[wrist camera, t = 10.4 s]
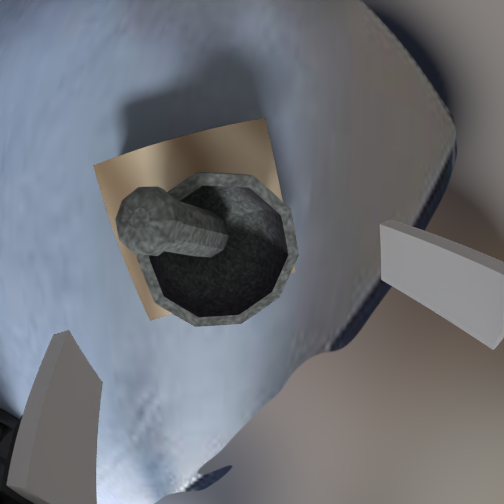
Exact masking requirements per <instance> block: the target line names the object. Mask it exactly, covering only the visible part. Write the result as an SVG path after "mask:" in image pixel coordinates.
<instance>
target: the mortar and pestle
mask: <svg viewBox="0 0 504 504" xmlns="http://www.w3.org/2000/svg"><path fill="white" fill-rule="evenodd" d="M115 221H116V226H117V232H118V237H119V240H120V241H121V242H122V243H123V244H124V245H125V246H126V247H127V248H128V249H129V250H130V251H131V252H132V253H133V254H137V256H136V258H137V260H138V263H139V265H140V268H141V271H142V273H143V276H144V278H145V281H146V283H147V286H148V288H149V291H150V293H151V295H152V298H153V300H154V302H155V303H156V304H157V305H159V306H161V307H162V308H164V309H166V310H167V311H169V312H171V313H172V314H174V315H176V316H177V317H179V318H181V319H183V320H184V321H186V322H188V323H190V324H191V325H193V326H195V327H196V326H214V325H229V324H242V323H243V322H244V321H246V320H247V319H249V318H250V317H252V316H253V315H255V314H256V313H258V312H259V311H261V310H262V309H263V308H265V307H266V306H268V305H269V304H271V303H272V302H273V301H275V300H276V299H278V298H279V297H280V295H281V293H282V291H283V289H284V287H285V284H286V282H287V280H288V278H289V276H290V273H291V271H292V269H293V267H294V265H295V262H296V260H297V258H298V256H299V253H298V247H297V241H296V236H295V230H294V224H293V218H292V213H291V209H290V208H289V207H288V206H287V205H286V204H285V203H284V202H283V201H282V200H280V199H279V198H278V197H277V196H276V195H275V194H274V193H273V192H272V191H271V190H269V189H268V188H267V187H266V186H265V185H264V184H263V183H262V182H260V181H259V180H258V179H257V178H256V177H255V176H253V175H248V174H233V173H214V172H196V173H194V174H193V175H191V176H190V177H188V178H187V179H185V180H184V181H182V182H181V183H179V184H178V185H176V186H175V187H174V188H172V189H171V190H169V191H168V192H166V191H165V190H164V189H162V188H160V187H158V186H155V187H138V188H137V189H135V190H134V191H133V192H132V193H130V194H129V195H128V196H127V197H125V198H124V199H123V200H122V202H121V205H120V208H119V210H118V213H117V216H116V219H115Z"/></svg>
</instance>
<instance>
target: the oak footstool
mask: <svg viewBox="0 0 504 504" xmlns="http://www.w3.org/2000/svg"><path fill="white" fill-rule="evenodd" d="M93 166H94V170H95V173H96V177H97V180H98V184H99V187H100V191H101V194H102V197H103V201H104V204H105V207H106V210H107V213H108V216H109V219H110V222H111V225H112V228H113V231H114V234H115V237H116V239H117V242H118V245H119V248H120V250H121V253H122V256H123V258H124V261H125V263H126V266H127V268H128V271H129V273H130V276H131V278H132V281H133V283H134V286H135V288H136V290H137V293H138V295H139V297H140V300H141V302H142V304H143V306H144V308H145V311H146V313H147V315H148V317H149V319H150V321H151V320H154V319H157V318H160V317H163V316H167V315H170V314H172V313H171V312H169V311H167V310H166V309H164V308H162V307H161V306H159V305H157V304H156V303H155V302H154V300H153V298H152V295H151V293H150V291H149V288H148V286H147V283H146V281H145V278H144V276H143V273H142V271H141V268H140V265H139V263H138V260H137V258H136V256H137V254H133V253H132V252H131V251H130V250H129V249H128V248H127V247H126V246H125V245H124V244H123V243H122V242H121V241H120V240H119V237H118V232H117V226H116V221H115V219H116V216H117V213H118V210H119V208H120V205H121V202H122V200H123V199H124V198H125V197H127V196H128V195H129V194H130V193H132V192H133V191H134V190H135V189H137V188H138V187H155V186H158V187H160V188H162V189H164V190H165V191H166V192H168V191H169V190H171V189H172V188H174V187H175V186H176V185H178V184H179V183H181V182H182V181H184V180H185V179H187V178H188V177H190V176H191V175H193V174H194V173H196V172H214V173H233V174H248V175H253V176H255V177H256V178H257V179H258V180H259V181H260V182H262V183H263V184H264V185H265V186H266V187H267V188H268V189H269V190H271V191H272V192H273V193H274V194H275V195H276V196H277V197H278V198H279V199H280V200H282V195H281V190H280V185H279V180H278V175H277V170H276V165H275V161H274V156H273V151H272V146H271V142H270V137H269V133H268V128H267V124H266V119H265V118H261V119H256V120H250V121H245V122H240V123H235V124H231V125H226V126H221V127H217V128H213V129H208V130H204V131H200V132H196V133H192V134H188V135H185V136H181V137H177V138H174V139H170V140H167V141H163V142H160V143H157V144H153V145H150V146H147V147H144V148H141V149H138V150H135V151H132V152H129V153H126V154H123V155H120V156H117V157H115V158H112V159H109V160H107V161H104V162H101V163H99V164H96V165H93ZM282 201H283V200H282ZM293 272H295V266H294V267H293V269H292V271H291V273H293Z"/></svg>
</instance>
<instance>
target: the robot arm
mask: <svg viewBox="0 0 504 504" xmlns="http://www.w3.org/2000/svg"><path fill="white" fill-rule="evenodd" d="M380 240H381V280H383V281H385V282H386V283H388V284H390V285H391V286H393V287H395V288H397V289H398V290H400V291H401V292H403V293H405V294H406V295H408V296H410V297H411V298H413V299H415V300H416V301H418V302H420V303H421V304H423V305H424V306H426V307H428V308H429V309H431V310H432V311H434V312H436V313H437V314H439V315H440V316H442V317H444V318H445V319H447V320H448V321H450V322H452V323H453V324H455V325H456V326H458V327H459V328H461V329H462V330H464V331H465V332H467V333H468V334H470V335H472V336H473V337H475V338H476V339H478V340H479V341H481V342H482V343H484V344H485V345H487V346H488V347H490V348H491V349H493V350H494V349H495V348H496V347H497V345H498V344H499V343H500V342H501V341H502V339H503V337H504V262H502V261H500V260H497V259H495V258H493V257H490V256H488V255H486V254H483V253H481V252H478V251H476V250H473V249H471V248H468V247H466V246H463V245H461V244H458V243H456V242H453V241H451V240H448V239H445V238H443V237H440V236H437V235H434V234H432V233H429V232H426V231H423V230H421V229H418V228H415V227H412V226H409V225H406V224H403V223H400V222H397V221H394V220H389V221H387V222H384V223H381V224H380ZM102 383H103V382H102V381H101V380H100V378H99V377H98V375H97V374H96V372H95V371H94V370H93V368H92V367H91V365H90V364H89V362H88V361H87V359H86V357H85V356H84V354H83V353H82V351H81V350H80V348H79V346H78V345H77V343H76V341H75V340H74V338H73V336H72V335H71V333H70V331H69V330H67V331H64V332H61V333H58V334H54V335H53V338H52V340H51V342H50V344H49V346H48V349H47V351H46V353H45V356H44V358H43V361H42V363H41V366H40V368H39V371H38V373H37V376H36V378H35V381H34V384H33V386H32V389H31V392H30V395H29V398H28V401H27V404H26V407H25V410H24V413H23V415H22V416H21V418H20V419H19V420H18V419H16V418H15V417H13V416H12V415H10V414H9V413H7V412H5V411H3V410H1V409H0V504H97V500H96V454H97V434H98V421H99V410H100V400H101V391H102Z"/></svg>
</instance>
